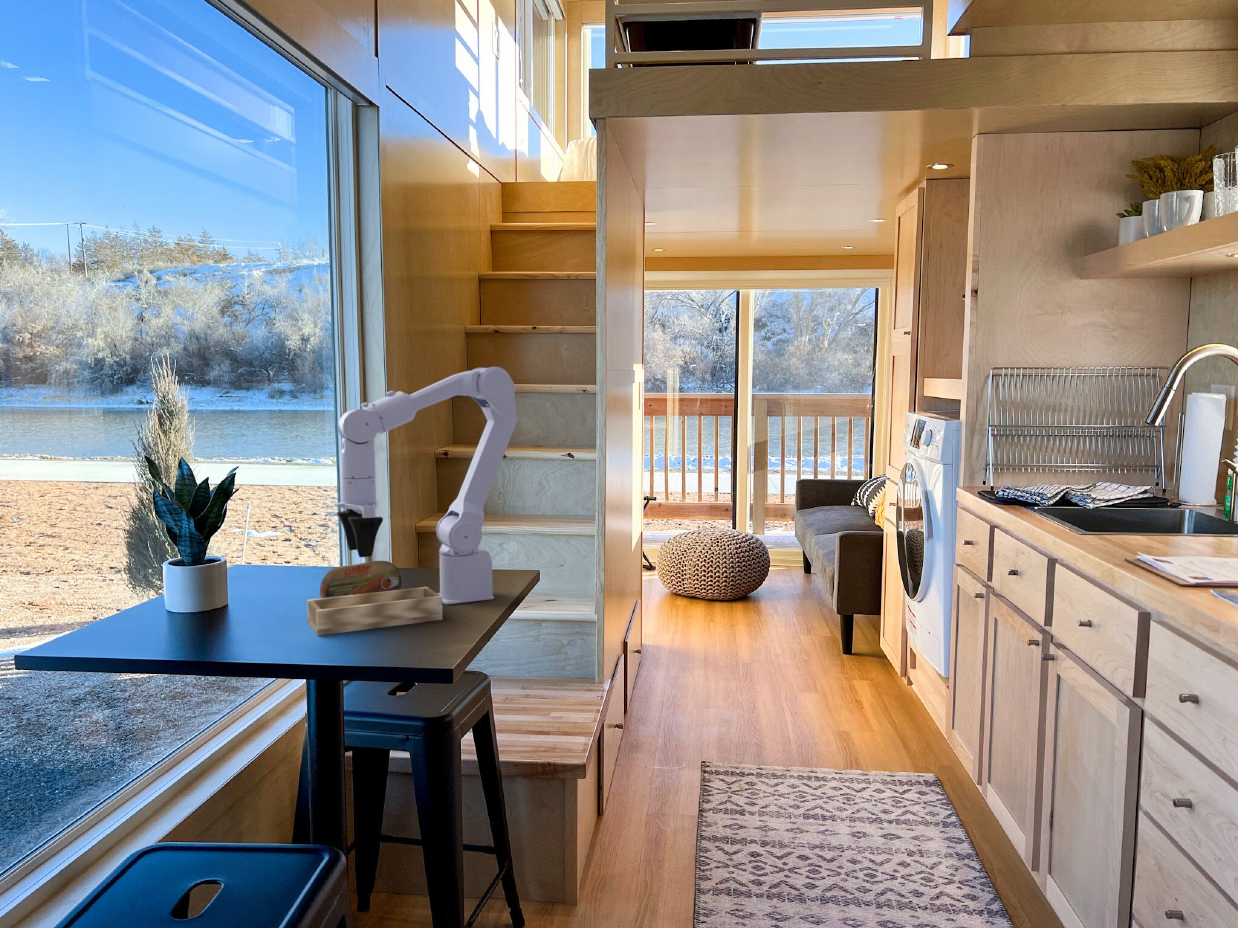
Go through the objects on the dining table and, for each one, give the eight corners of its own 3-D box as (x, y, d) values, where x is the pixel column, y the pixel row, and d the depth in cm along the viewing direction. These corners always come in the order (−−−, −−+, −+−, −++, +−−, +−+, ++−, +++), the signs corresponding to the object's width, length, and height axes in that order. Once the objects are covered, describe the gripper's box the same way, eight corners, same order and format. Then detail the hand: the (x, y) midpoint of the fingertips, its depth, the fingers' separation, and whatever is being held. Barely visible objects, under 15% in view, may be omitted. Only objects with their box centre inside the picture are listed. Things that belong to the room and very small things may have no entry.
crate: (427, 608, 161) (426, 586, 160) (442, 619, 153) (442, 596, 153) (307, 623, 151) (307, 599, 150) (317, 635, 143) (317, 611, 143)
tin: (326, 618, 154) (325, 570, 153) (318, 614, 156) (316, 567, 156) (403, 603, 165) (402, 558, 164) (394, 600, 167) (393, 556, 166)
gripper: (327, 474, 163) (328, 548, 164) (344, 482, 150) (346, 562, 151) (366, 473, 166) (367, 545, 167) (386, 480, 154) (388, 558, 155)
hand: (360, 553), depth 160 cm, fingers open, 7 cm apart
